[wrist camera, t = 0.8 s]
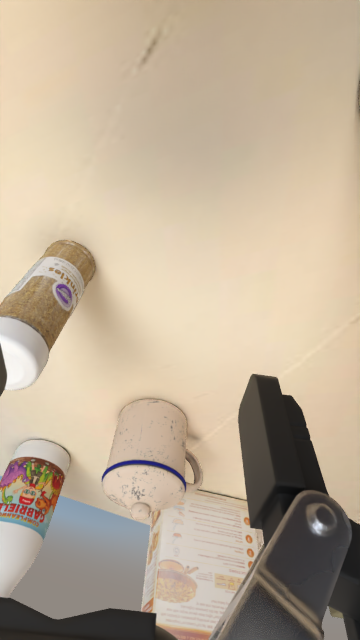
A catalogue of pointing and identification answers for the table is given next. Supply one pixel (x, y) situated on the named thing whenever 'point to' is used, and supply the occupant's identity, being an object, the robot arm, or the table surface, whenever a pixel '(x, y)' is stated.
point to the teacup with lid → (149, 459)
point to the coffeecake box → (197, 562)
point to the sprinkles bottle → (41, 310)
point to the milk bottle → (28, 506)
